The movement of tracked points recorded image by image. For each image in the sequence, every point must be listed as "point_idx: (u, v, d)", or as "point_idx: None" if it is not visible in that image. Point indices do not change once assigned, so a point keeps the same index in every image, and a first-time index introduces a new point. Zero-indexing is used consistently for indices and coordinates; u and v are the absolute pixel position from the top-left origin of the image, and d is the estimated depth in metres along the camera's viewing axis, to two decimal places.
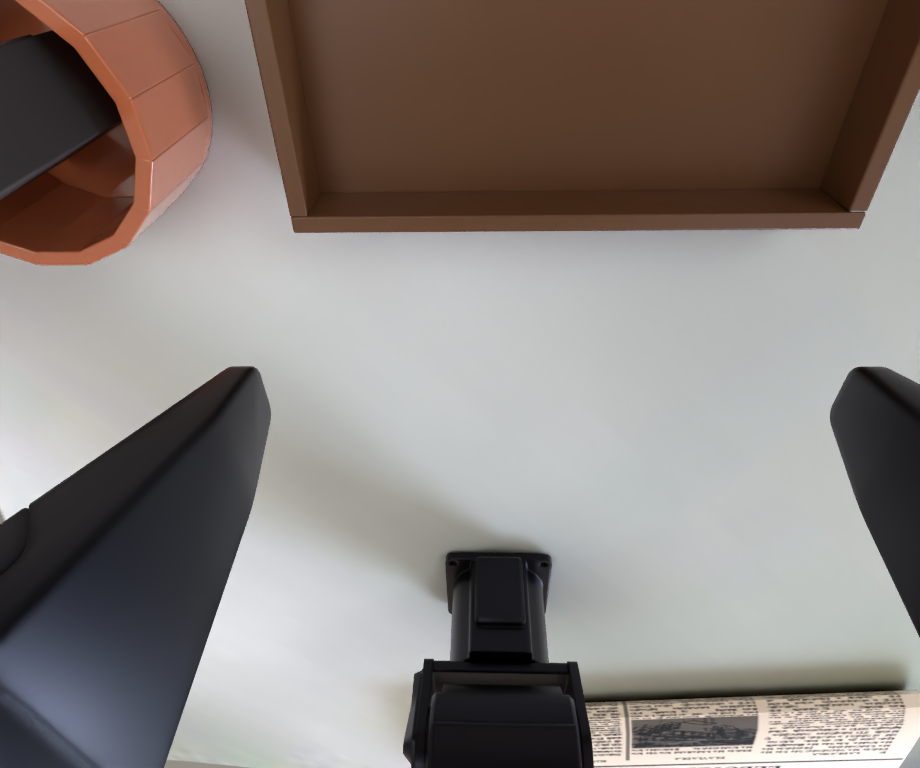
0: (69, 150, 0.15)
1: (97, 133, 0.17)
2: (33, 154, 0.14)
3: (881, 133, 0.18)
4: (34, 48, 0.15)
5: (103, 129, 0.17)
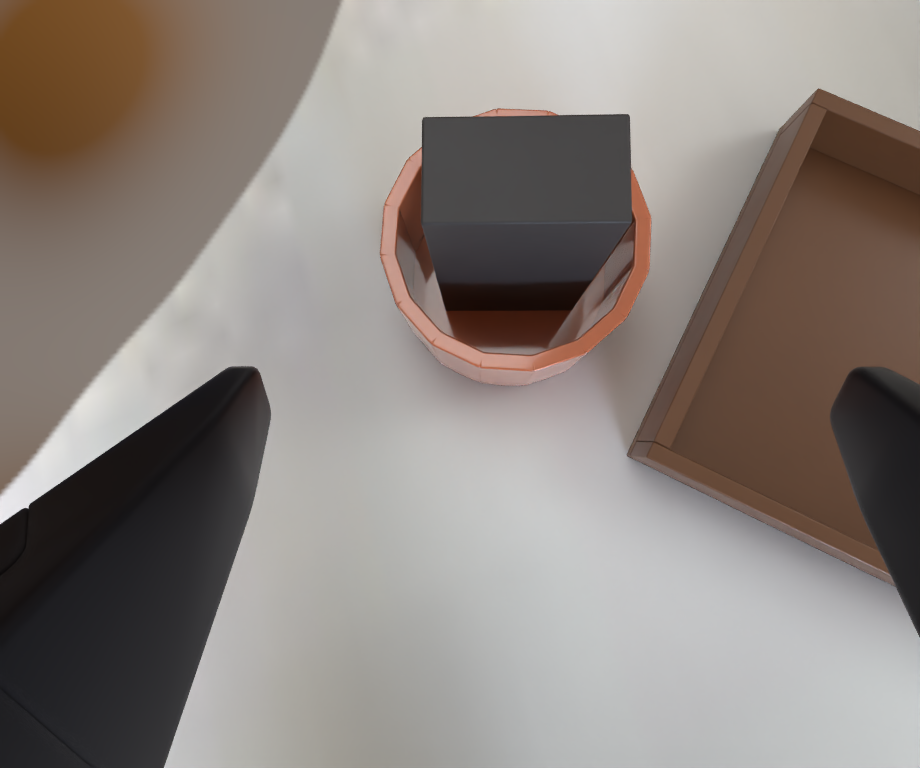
0: (602, 264, 0.17)
1: (592, 278, 0.18)
2: None
3: None
4: None
5: None
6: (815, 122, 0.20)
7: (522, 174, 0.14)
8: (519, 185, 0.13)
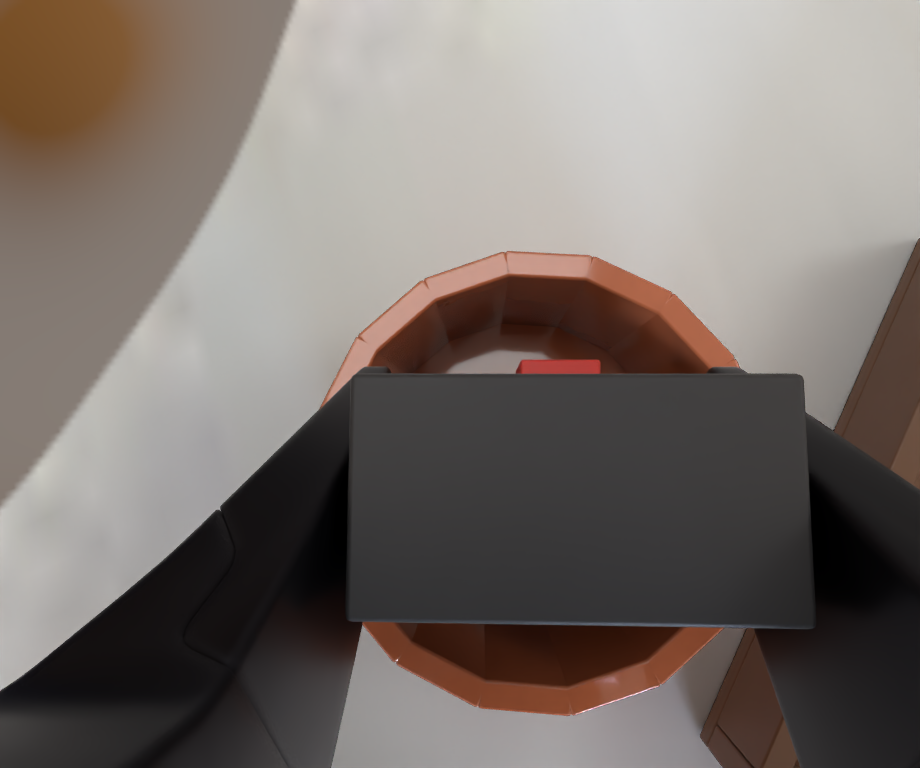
0: None
1: None
2: None
3: None
4: None
5: None
6: None
7: (569, 512, 0.06)
8: (561, 536, 0.06)
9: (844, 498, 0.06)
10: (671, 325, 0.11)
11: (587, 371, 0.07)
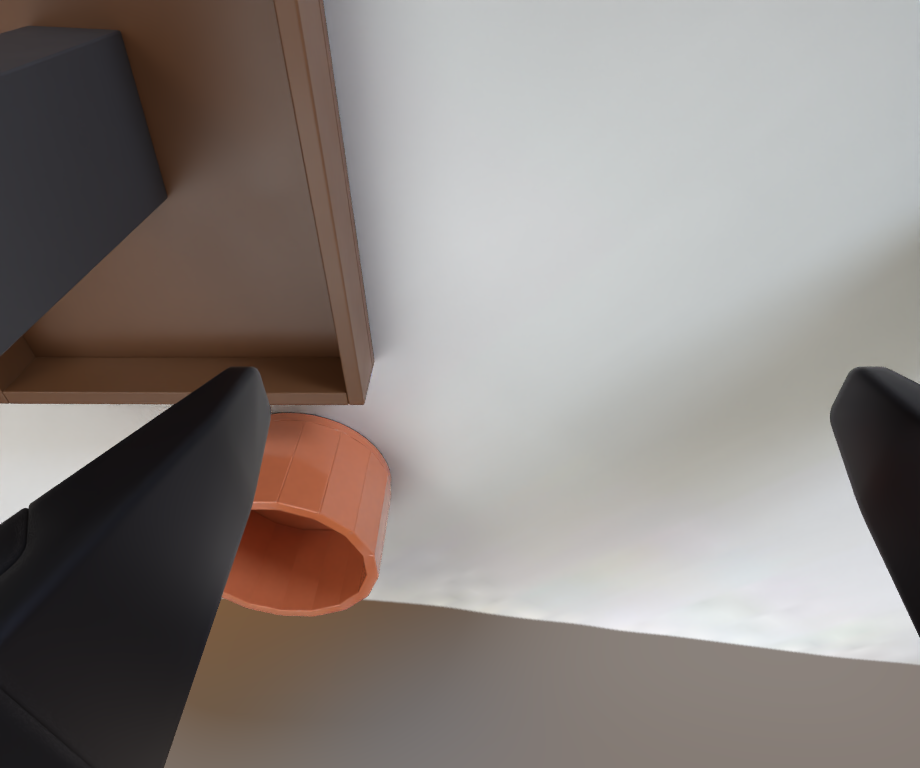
0: None
1: (28, 65, 0.13)
2: None
3: None
4: None
5: (36, 60, 0.13)
6: (20, 395, 0.22)
7: None
8: None
9: None
10: None
11: None
